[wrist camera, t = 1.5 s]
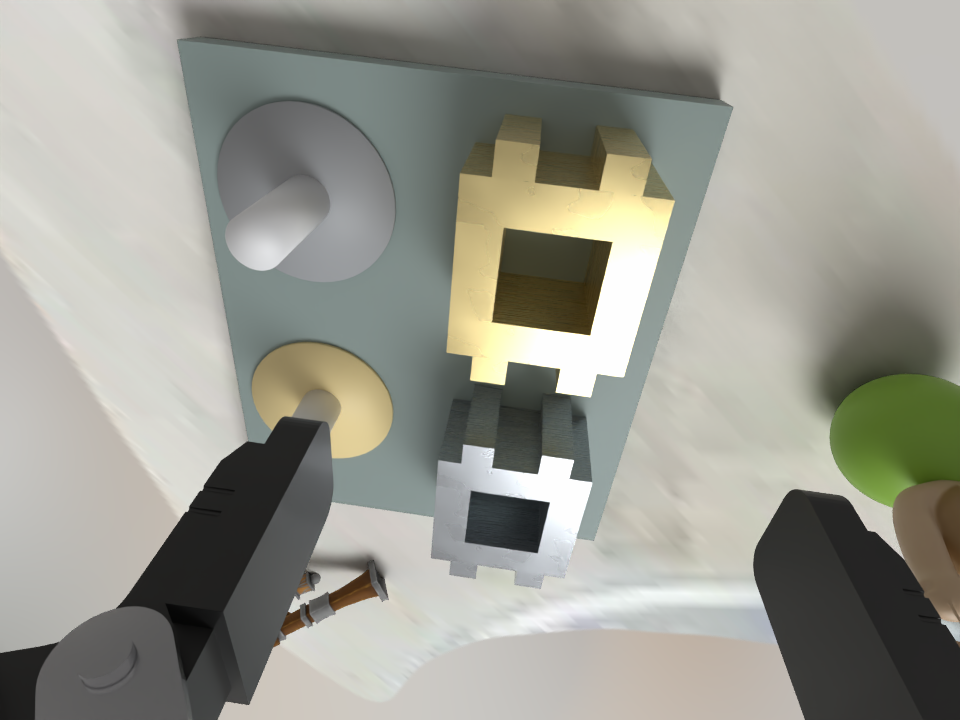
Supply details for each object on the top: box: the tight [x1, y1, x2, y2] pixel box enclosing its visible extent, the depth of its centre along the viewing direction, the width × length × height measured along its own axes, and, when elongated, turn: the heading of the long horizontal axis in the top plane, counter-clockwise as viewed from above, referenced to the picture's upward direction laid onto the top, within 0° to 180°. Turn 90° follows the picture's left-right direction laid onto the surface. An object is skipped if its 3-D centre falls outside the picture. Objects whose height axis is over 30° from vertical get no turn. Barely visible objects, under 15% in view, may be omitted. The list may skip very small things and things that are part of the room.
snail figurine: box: [830, 374, 960, 647], centre depth 20 cm, size 5×6×12 cm
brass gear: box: [446, 114, 675, 397], centre depth 19 cm, size 6×8×4 cm
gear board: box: [177, 37, 733, 541], centre depth 22 cm, size 18×21×6 cm
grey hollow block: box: [431, 383, 592, 589], centre depth 25 cm, size 6×8×4 cm
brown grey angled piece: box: [273, 560, 389, 647], centre depth 35 cm, size 2×8×5 cm, turn 106°
